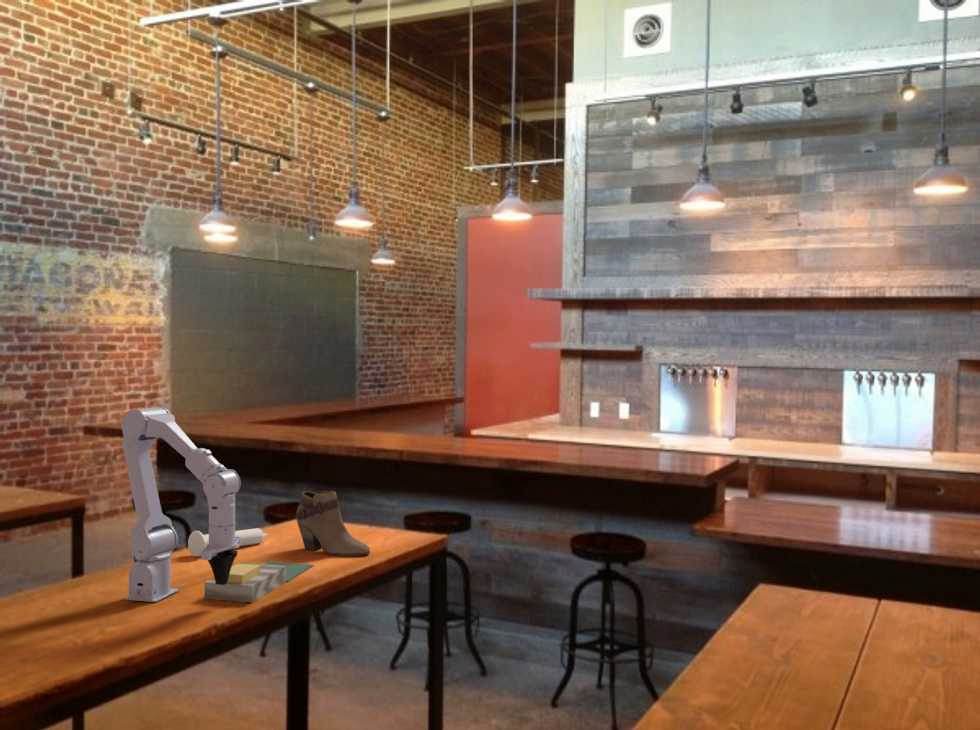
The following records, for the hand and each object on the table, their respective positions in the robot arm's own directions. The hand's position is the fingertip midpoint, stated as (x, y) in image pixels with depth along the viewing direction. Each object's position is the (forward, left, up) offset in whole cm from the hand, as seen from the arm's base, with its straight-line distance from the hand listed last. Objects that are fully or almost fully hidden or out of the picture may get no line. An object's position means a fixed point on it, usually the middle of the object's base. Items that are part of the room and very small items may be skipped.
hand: (221, 583), depth 197 cm
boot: (+53, -5, -5) cm, 54 cm away
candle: (+37, +28, -1) cm, 47 cm away
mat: (+29, 0, -5) cm, 30 cm away
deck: (+12, 0, -5) cm, 13 cm away
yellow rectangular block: (+9, 0, -1) cm, 9 cm away
